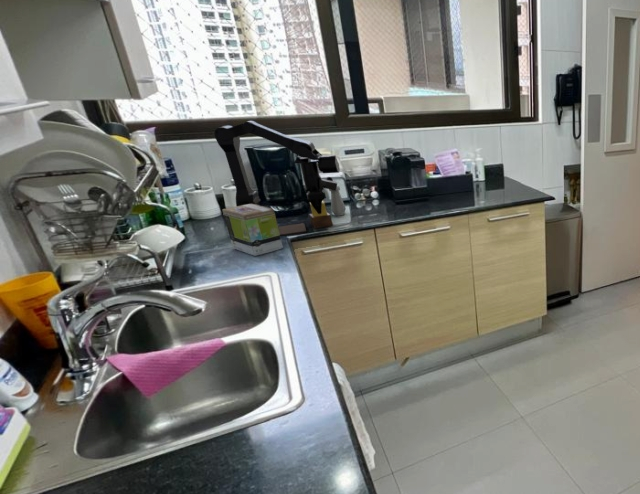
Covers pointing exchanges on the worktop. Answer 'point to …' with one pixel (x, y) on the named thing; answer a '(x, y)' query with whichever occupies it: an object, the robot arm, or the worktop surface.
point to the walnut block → (321, 220)
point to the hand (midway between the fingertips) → (319, 212)
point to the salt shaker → (337, 202)
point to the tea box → (253, 229)
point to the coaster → (292, 229)
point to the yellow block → (323, 210)
